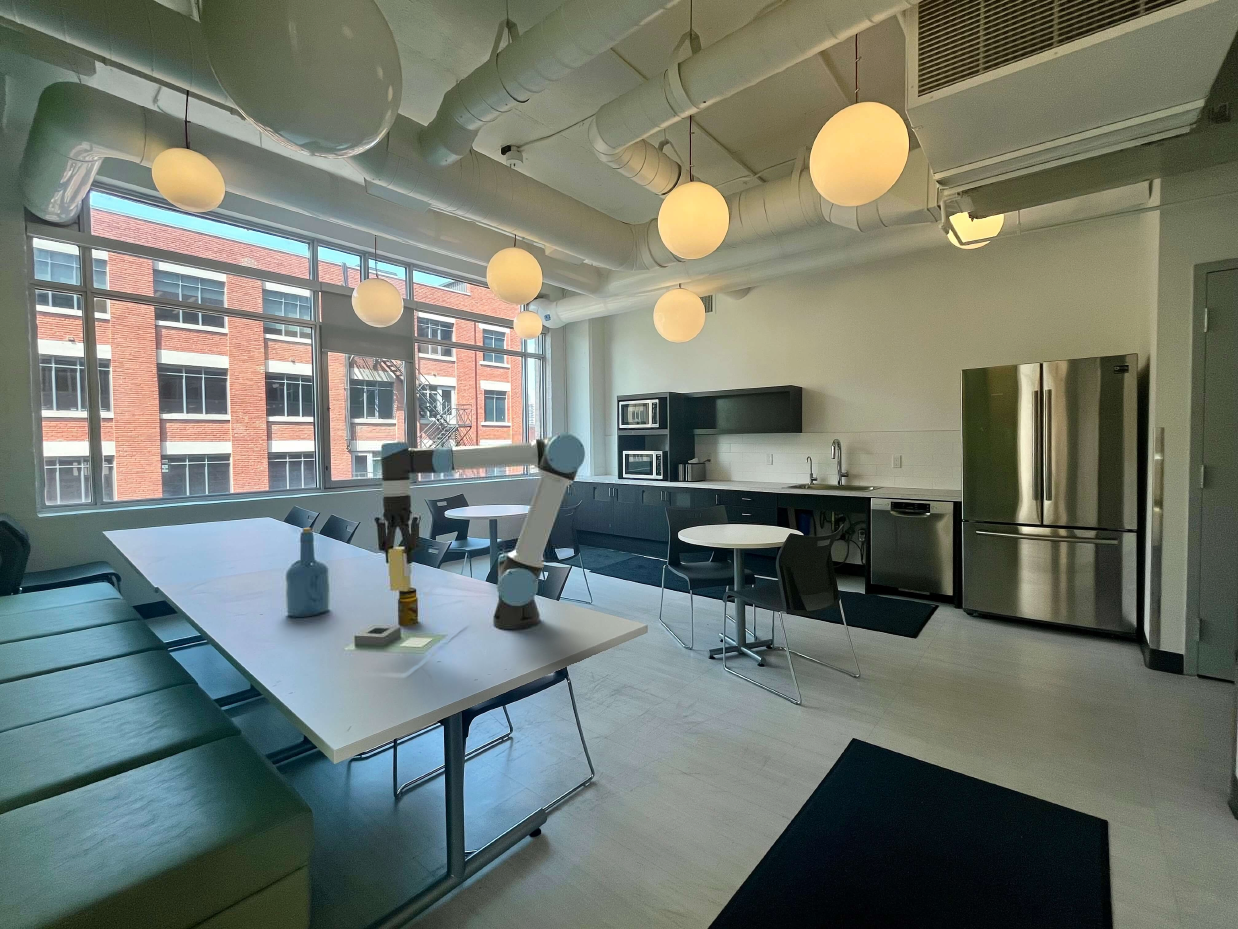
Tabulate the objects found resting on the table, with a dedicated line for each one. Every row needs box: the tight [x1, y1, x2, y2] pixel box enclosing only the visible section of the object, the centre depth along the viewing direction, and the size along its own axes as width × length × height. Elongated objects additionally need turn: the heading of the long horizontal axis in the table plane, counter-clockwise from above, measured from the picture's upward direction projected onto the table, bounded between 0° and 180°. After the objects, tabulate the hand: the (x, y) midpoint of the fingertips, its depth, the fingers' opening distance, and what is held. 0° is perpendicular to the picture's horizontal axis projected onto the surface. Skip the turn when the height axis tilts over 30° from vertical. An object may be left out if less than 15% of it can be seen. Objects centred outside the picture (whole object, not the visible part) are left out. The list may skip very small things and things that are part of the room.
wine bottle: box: [285, 527, 331, 618], centre depth 187 cm, size 14×13×30 cm
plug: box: [388, 546, 412, 592], centre depth 155 cm, size 4×4×12 cm
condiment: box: [397, 587, 419, 626], centre depth 173 cm, size 7×8×12 cm
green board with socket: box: [343, 624, 448, 655], centre depth 156 cm, size 24×15×4 cm, turn 82°
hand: (400, 574), depth 155 cm, fingers closed on plug, 4 cm apart
